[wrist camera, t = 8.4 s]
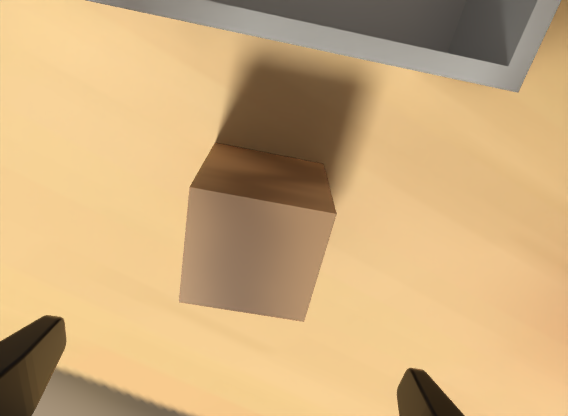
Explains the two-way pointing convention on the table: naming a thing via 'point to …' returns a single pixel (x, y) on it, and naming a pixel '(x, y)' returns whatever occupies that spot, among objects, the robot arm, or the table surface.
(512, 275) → the table surface
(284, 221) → the walnut cube
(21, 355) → the robot arm
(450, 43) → the tote
